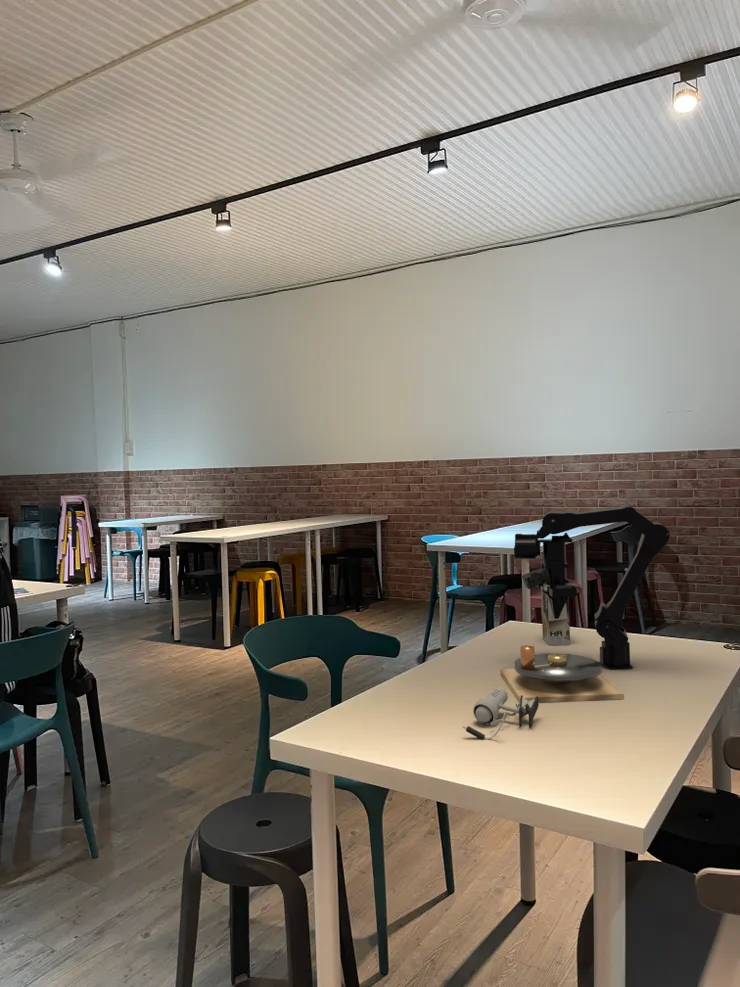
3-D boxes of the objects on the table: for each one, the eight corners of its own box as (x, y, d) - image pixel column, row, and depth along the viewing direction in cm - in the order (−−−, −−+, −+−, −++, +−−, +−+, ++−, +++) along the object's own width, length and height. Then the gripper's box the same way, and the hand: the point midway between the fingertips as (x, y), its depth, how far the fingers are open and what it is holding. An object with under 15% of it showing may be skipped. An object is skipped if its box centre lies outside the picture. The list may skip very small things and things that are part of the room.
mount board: (591, 670, 185) (590, 656, 185) (623, 699, 162) (623, 682, 162) (500, 674, 184) (500, 659, 184) (520, 703, 162) (519, 686, 161)
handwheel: (569, 654, 186) (568, 630, 185) (620, 674, 167) (619, 647, 167) (499, 664, 179) (498, 639, 179) (544, 686, 160) (543, 658, 160)
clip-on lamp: (509, 761, 138) (544, 713, 152) (507, 731, 136) (543, 685, 150) (453, 744, 145) (492, 699, 159) (451, 715, 143) (491, 673, 157)
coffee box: (571, 645, 212) (569, 589, 211) (548, 645, 212) (547, 590, 211) (563, 637, 221) (561, 584, 220) (542, 638, 221) (540, 585, 220)
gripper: (516, 556, 201) (518, 612, 201) (532, 565, 182) (534, 627, 182) (556, 554, 201) (558, 611, 201) (576, 563, 182) (578, 625, 182)
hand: (556, 618), depth 192 cm, fingers closed
